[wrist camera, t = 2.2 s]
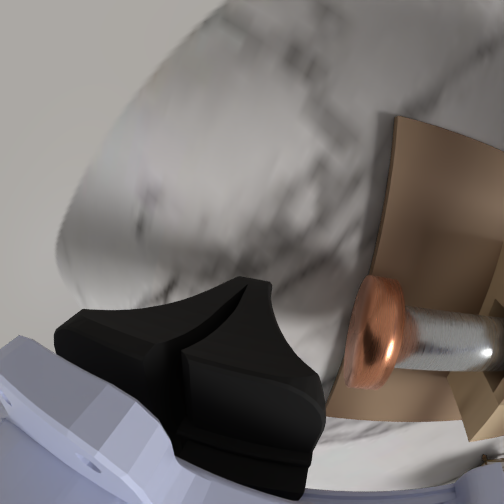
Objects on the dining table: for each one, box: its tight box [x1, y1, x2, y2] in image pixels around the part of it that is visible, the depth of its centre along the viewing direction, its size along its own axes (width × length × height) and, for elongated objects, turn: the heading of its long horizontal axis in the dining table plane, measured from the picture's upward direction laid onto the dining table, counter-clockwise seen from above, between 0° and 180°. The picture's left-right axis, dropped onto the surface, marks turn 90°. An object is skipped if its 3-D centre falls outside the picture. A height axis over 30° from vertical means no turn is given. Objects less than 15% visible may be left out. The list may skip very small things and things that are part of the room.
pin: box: [344, 275, 504, 390], centre depth 9 cm, size 10×4×4 cm, turn 85°
